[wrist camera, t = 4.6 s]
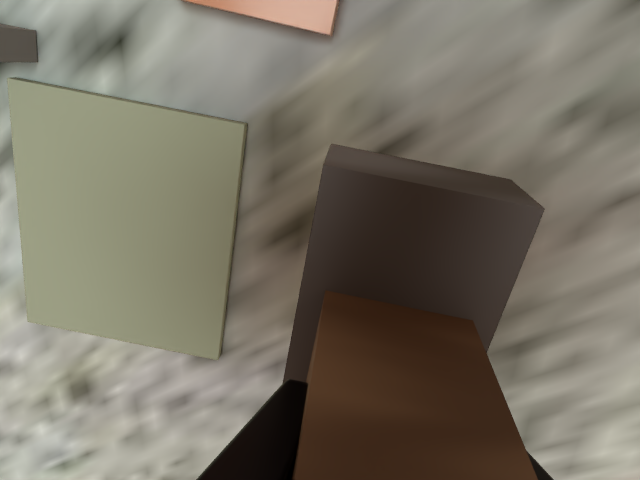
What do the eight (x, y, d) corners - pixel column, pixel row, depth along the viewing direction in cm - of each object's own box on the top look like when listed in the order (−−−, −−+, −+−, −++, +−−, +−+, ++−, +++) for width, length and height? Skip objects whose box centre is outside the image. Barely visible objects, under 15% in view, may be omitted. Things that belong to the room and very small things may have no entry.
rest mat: (247, 123, 19) (244, 125, 18) (220, 354, 23) (217, 360, 23) (15, 77, 19) (6, 77, 18) (34, 316, 23) (27, 321, 23)
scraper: (510, 179, 10) (962, 566, 2) (415, 443, 13) (483, 960, 6) (330, 143, 10) (232, 415, 2) (279, 415, 13) (168, 891, 6)
